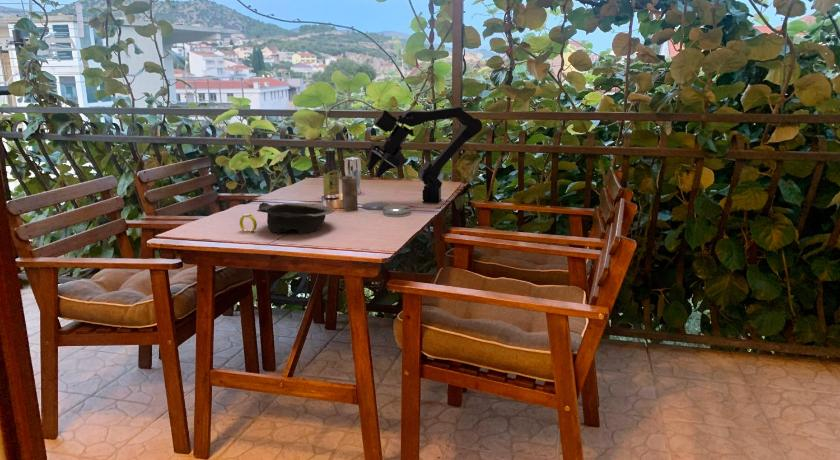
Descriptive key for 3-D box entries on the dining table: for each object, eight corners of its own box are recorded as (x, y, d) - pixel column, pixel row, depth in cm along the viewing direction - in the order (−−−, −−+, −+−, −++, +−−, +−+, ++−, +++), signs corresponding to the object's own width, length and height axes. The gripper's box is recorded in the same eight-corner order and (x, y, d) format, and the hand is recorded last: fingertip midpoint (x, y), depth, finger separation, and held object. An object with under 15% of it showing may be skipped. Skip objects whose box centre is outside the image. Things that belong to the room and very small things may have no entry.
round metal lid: (414, 212, 223) (414, 205, 222) (405, 218, 214) (405, 211, 213) (388, 210, 226) (388, 204, 225) (379, 216, 217) (378, 210, 216)
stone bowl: (247, 237, 191) (245, 208, 189) (276, 223, 215) (275, 197, 213) (323, 238, 187) (321, 208, 185) (343, 223, 212) (342, 197, 210)
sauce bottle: (331, 200, 242) (329, 151, 237) (320, 198, 246) (317, 150, 241) (343, 197, 247) (340, 149, 242) (332, 195, 251) (329, 148, 246)
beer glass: (361, 195, 252) (359, 159, 248) (344, 195, 252) (343, 159, 248) (363, 191, 258) (361, 157, 255) (347, 191, 259) (345, 157, 255)
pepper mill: (354, 207, 230) (353, 173, 227) (357, 209, 226) (356, 175, 223) (343, 208, 229) (341, 174, 225) (345, 210, 225) (344, 176, 221)
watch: (239, 232, 198) (236, 215, 197) (244, 230, 201) (242, 213, 199) (253, 233, 196) (251, 215, 194) (259, 230, 198) (256, 213, 197)
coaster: (394, 204, 234) (394, 203, 234) (384, 210, 224) (384, 209, 224) (368, 202, 237) (368, 201, 237) (357, 209, 227) (357, 207, 227)
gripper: (420, 156, 224) (397, 191, 226) (401, 144, 240) (380, 177, 241) (399, 141, 218) (375, 176, 220) (381, 129, 234) (358, 163, 235)
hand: (372, 173), depth 229 cm, fingers open, 9 cm apart
